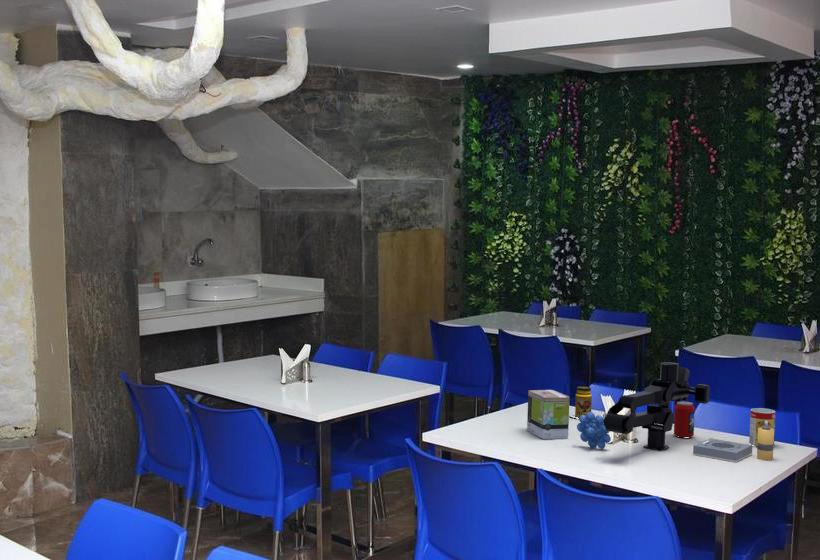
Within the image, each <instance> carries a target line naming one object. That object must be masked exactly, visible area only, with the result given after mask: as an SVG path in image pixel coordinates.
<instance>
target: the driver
mask: <svg viewBox="0 0 820 560" xmlns="http://www.w3.org/2000/svg"><path fill="white" fill-rule="evenodd" d="M774 447H775V436H774V429H772V428H771V427H770V426H768V421H765V426H762V427H761V428H758V442H757V447H756V448H757V449H756V450H757V452H756V459H757V460H761V459H762V460H761V461H773V460H774ZM772 459H773V460H772Z"/></svg>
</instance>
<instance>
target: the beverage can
mask: <svg viewBox="0 0 820 560" xmlns="http://www.w3.org/2000/svg"><path fill="white" fill-rule="evenodd" d="M695 411H696V408H695V406H694V403H693V402H691V401H684V400H681V402H678V401H676V404H675V406H674V412H673V413H674V421H673V435H674V436H676V437H677V436H679V437H691V438H692V437H694V435H695V413H696V412H695ZM679 437H678V438H679Z"/></svg>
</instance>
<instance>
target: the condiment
mask: <svg viewBox="0 0 820 560" xmlns="http://www.w3.org/2000/svg"><path fill="white" fill-rule="evenodd" d="M591 393H592V388H591V387H590V386H581V385H580V386H577V387H576V393H575V405H574V406H575V410H574V411H575V412H574V413H575V414H574V416H575V417H578V418H579V417H580V416H581V415H585V416H586V417H587V413H588V412H592V402H593V397H592V396H593V395H592V394H591Z"/></svg>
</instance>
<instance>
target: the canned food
mask: <svg viewBox="0 0 820 560" xmlns="http://www.w3.org/2000/svg"><path fill="white" fill-rule="evenodd" d="M749 415H750V416H749V417H750V419H749V439H748V441H749V443H750V444H751V445H754V446H757V442H758V428H761V427H762V426H765V421H768V426H770V427H771V428H772V429H774V437H775V434H776V433H775V431H776V411H775V410H774V409H770V408H763V407H755V408H751V409H750V414H749ZM749 443H748V444H749Z"/></svg>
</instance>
